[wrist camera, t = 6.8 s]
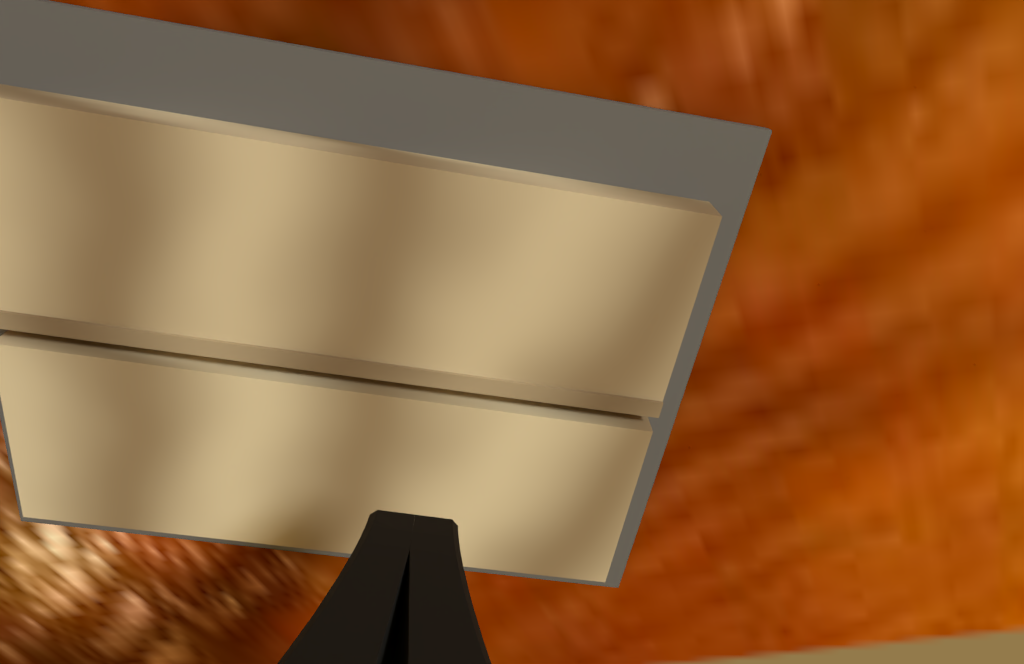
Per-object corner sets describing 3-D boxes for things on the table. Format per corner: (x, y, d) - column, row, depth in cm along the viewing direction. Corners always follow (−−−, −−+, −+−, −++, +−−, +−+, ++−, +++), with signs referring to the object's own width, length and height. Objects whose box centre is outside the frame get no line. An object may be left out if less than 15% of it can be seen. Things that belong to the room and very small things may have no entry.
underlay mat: (26, 514, 23) (21, 520, 23) (-78, -23, 16) (-88, -22, 16) (616, 581, 25) (618, 587, 25) (767, 128, 18) (772, 130, 17)
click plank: (46, 490, 22) (23, 516, 21) (18, 323, 20) (-10, 343, 18) (600, 555, 24) (605, 582, 23) (644, 408, 21) (652, 431, 20)
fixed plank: (15, 306, 19) (-16, 328, 18) (-25, 79, 17) (-64, 88, 15) (649, 394, 21) (658, 419, 20) (709, 201, 18) (723, 217, 17)
